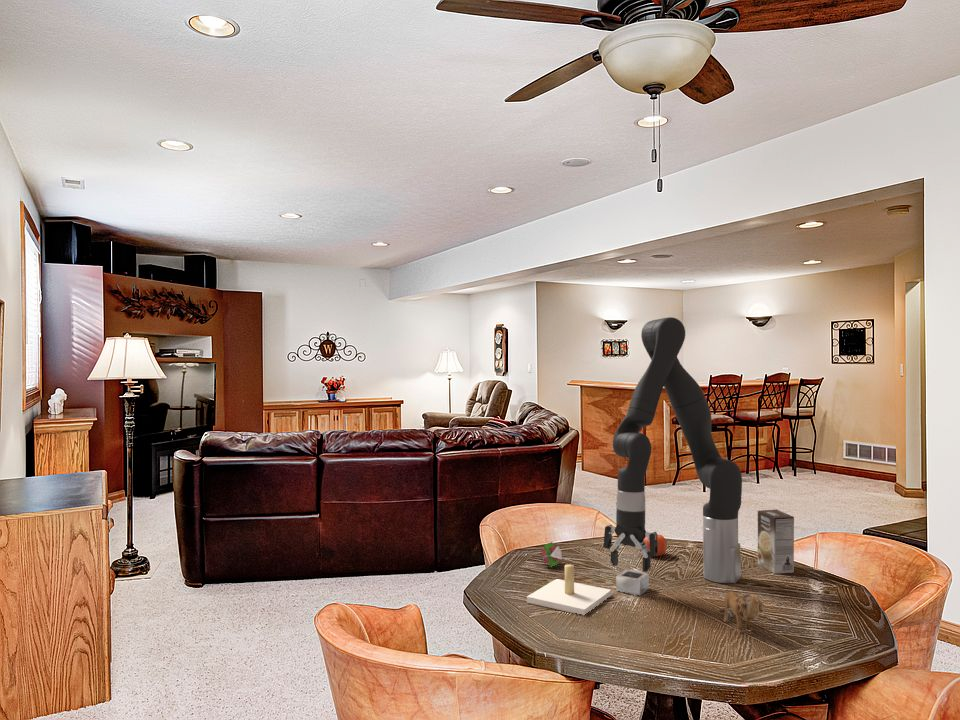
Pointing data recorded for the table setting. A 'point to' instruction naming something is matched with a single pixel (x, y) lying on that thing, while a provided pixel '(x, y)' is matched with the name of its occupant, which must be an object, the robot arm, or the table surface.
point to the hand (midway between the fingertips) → (630, 568)
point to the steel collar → (632, 582)
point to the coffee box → (776, 541)
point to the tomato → (661, 544)
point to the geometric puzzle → (551, 554)
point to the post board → (569, 594)
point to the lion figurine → (742, 608)
